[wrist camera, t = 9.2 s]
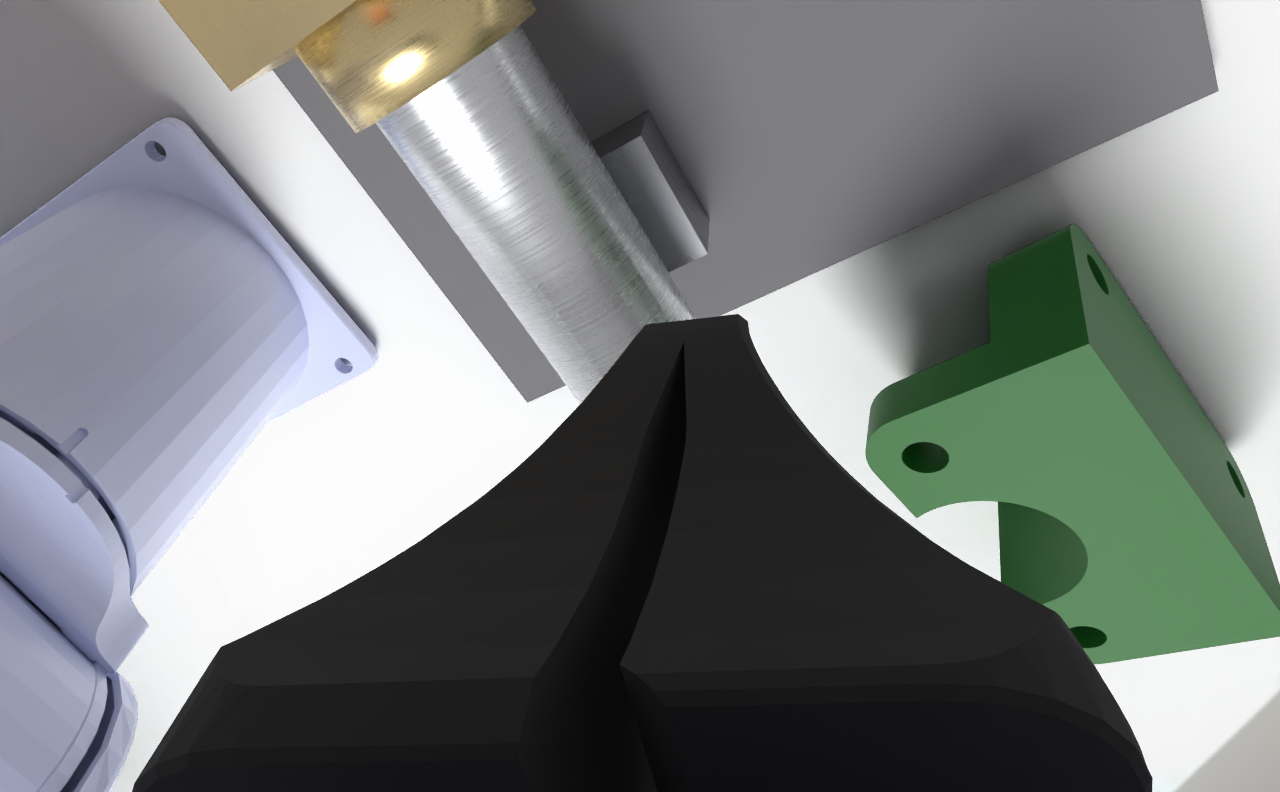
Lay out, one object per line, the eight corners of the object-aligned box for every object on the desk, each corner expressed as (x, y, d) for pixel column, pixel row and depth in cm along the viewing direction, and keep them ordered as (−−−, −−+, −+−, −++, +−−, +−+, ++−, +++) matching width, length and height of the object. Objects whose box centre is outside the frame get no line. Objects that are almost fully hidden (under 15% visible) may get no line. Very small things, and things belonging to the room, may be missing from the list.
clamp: (904, 284, 26) (808, 380, 19) (1088, 192, 22) (1048, 269, 16) (1074, 585, 26) (1039, 776, 20) (1278, 541, 23) (1316, 755, 16)
